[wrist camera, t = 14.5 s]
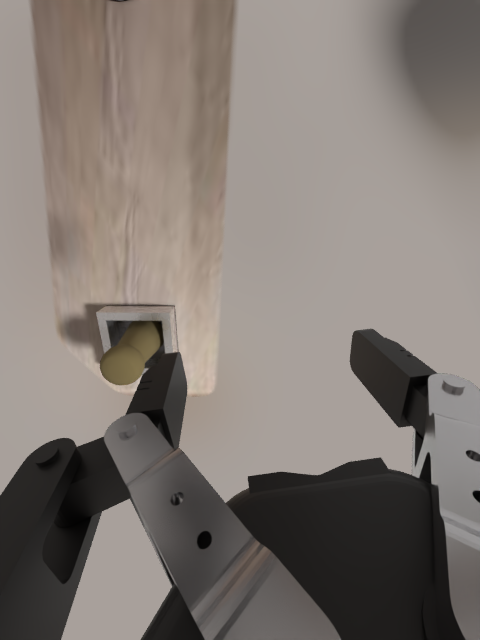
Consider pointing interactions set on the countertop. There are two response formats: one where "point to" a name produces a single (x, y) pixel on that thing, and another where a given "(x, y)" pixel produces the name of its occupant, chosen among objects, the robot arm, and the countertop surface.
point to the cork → (132, 352)
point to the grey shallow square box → (120, 316)
